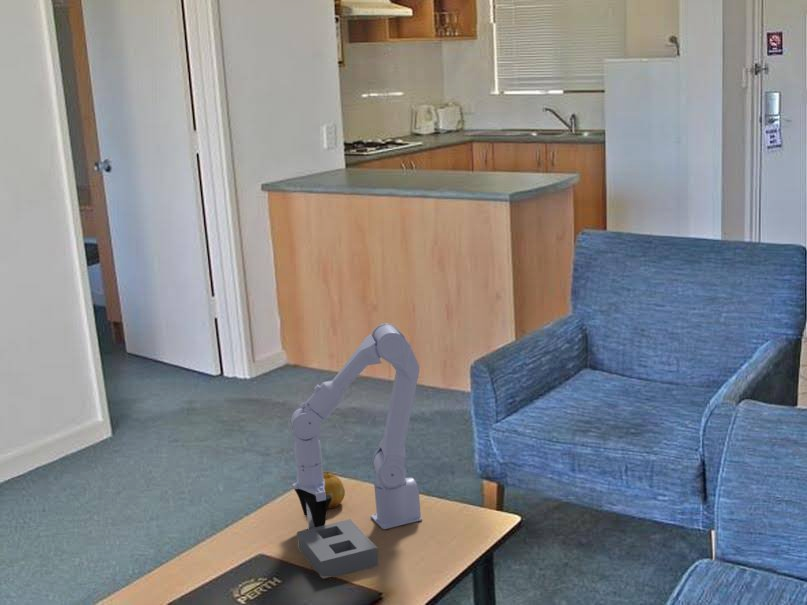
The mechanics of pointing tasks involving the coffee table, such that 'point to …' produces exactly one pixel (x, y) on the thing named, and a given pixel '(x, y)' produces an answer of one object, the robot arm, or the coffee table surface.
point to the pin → (309, 518)
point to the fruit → (333, 489)
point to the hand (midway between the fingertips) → (314, 520)
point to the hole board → (337, 548)
